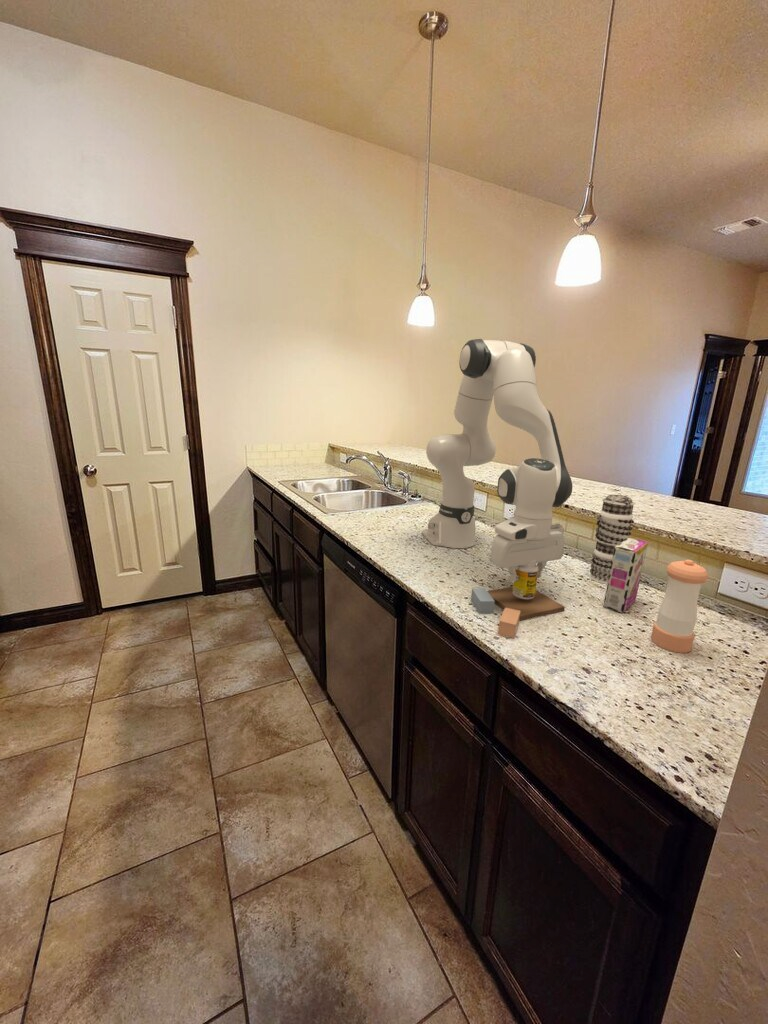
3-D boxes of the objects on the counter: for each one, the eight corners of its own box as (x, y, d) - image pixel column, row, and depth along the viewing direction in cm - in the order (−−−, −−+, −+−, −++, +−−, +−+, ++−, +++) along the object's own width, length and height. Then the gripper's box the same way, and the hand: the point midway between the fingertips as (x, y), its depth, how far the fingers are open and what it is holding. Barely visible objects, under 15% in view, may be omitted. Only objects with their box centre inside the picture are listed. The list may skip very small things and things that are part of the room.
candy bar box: (624, 614, 101) (636, 551, 97) (602, 607, 104) (613, 546, 100) (637, 600, 108) (649, 541, 104) (616, 594, 112) (627, 536, 108)
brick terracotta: (503, 620, 97) (505, 607, 96) (519, 624, 95) (520, 610, 95) (497, 635, 91) (499, 620, 90) (514, 639, 89) (515, 624, 88)
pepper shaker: (683, 657, 84) (704, 569, 79) (644, 640, 90) (662, 558, 85) (696, 645, 88) (717, 562, 83) (659, 630, 94) (676, 551, 89)
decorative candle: (622, 576, 123) (637, 495, 117) (623, 588, 116) (639, 501, 109) (588, 570, 128) (601, 491, 121) (587, 580, 120) (600, 497, 113)
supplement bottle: (525, 602, 101) (530, 563, 99) (507, 593, 106) (511, 556, 103) (539, 597, 104) (544, 559, 102) (521, 588, 109) (525, 552, 106)
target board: (483, 595, 109) (483, 591, 109) (525, 587, 114) (525, 583, 114) (518, 621, 97) (519, 616, 96) (564, 611, 102) (564, 606, 101)
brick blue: (470, 600, 106) (472, 588, 105) (484, 600, 107) (485, 588, 106) (479, 614, 100) (480, 601, 99) (493, 614, 100) (494, 601, 99)
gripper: (554, 519, 107) (548, 568, 110) (489, 526, 99) (484, 579, 103) (573, 526, 101) (566, 578, 105) (506, 534, 94) (500, 590, 97)
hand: (525, 578), depth 104 cm, fingers closed on supplement bottle, 5 cm apart
